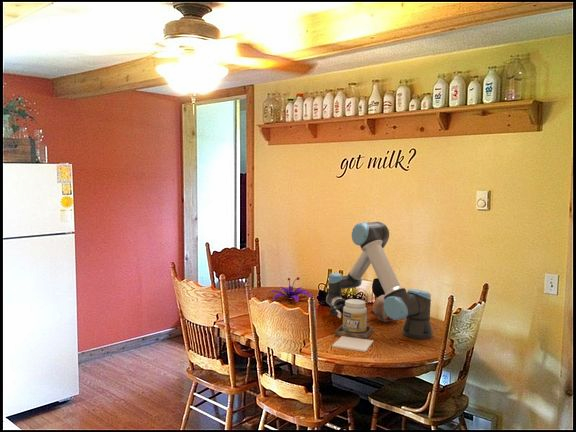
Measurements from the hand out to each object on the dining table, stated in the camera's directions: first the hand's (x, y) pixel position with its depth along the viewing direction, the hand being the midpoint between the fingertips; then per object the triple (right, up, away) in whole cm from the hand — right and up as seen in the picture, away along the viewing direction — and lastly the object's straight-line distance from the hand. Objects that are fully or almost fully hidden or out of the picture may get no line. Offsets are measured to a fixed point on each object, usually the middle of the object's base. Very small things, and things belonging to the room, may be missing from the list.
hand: (353, 315), depth 267 cm
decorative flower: (-32, -4, +71) cm, 78 cm away
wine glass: (+21, -7, +43) cm, 48 cm away
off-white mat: (-2, -11, -18) cm, 21 cm away
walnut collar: (0, -9, -1) cm, 10 cm away
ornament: (+21, -8, +24) cm, 33 cm away
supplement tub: (0, -10, -1) cm, 10 cm away
